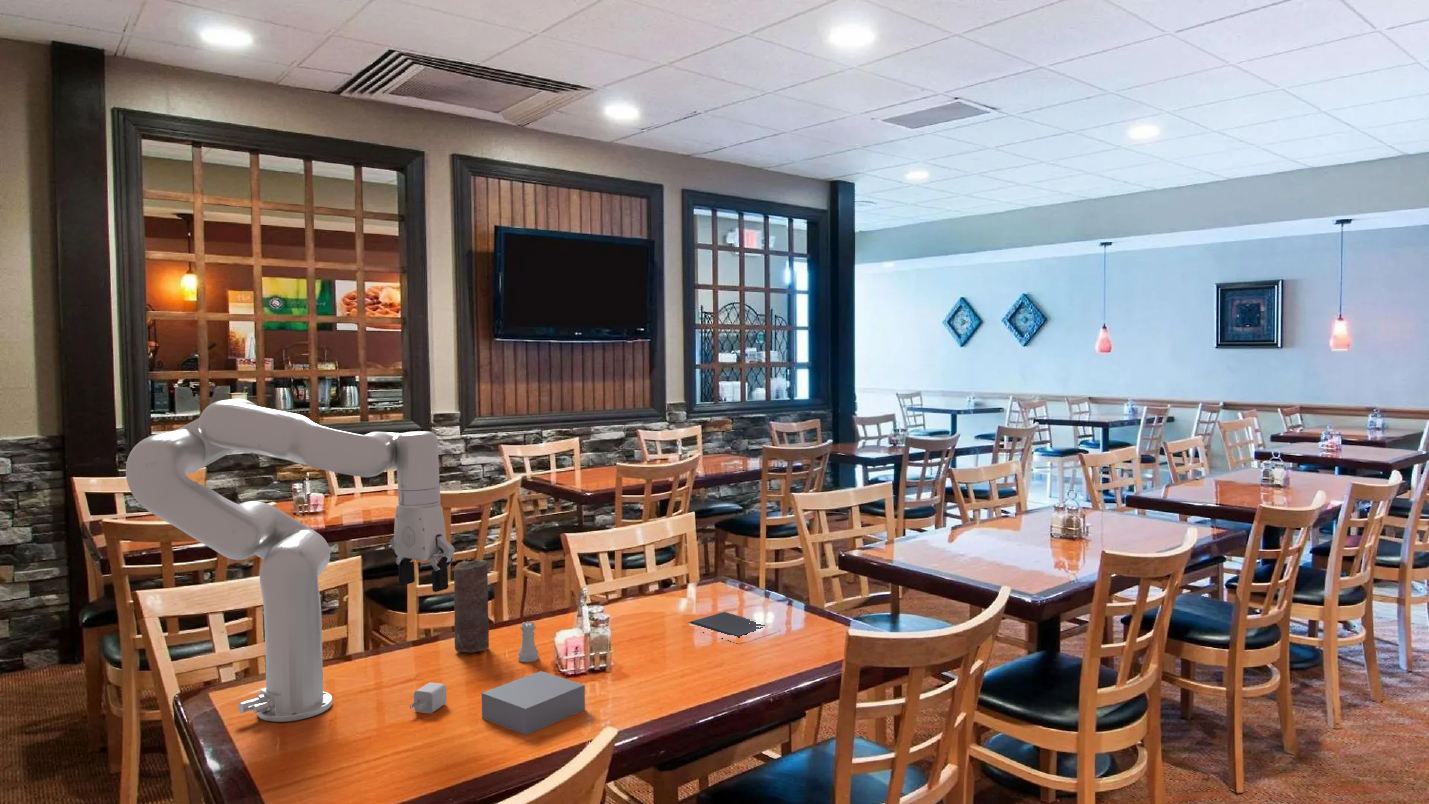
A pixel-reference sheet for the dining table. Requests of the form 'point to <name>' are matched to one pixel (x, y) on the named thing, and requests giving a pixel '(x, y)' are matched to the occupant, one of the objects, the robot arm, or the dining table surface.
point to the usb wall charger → (429, 698)
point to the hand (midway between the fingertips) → (423, 586)
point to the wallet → (727, 624)
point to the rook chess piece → (528, 643)
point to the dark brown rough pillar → (471, 606)
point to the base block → (533, 702)
